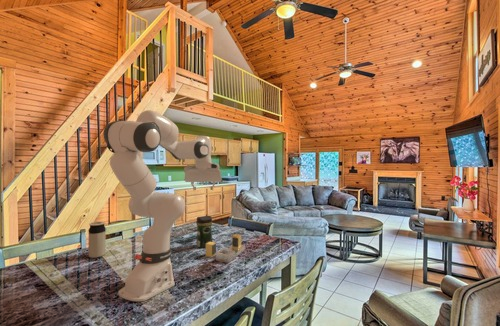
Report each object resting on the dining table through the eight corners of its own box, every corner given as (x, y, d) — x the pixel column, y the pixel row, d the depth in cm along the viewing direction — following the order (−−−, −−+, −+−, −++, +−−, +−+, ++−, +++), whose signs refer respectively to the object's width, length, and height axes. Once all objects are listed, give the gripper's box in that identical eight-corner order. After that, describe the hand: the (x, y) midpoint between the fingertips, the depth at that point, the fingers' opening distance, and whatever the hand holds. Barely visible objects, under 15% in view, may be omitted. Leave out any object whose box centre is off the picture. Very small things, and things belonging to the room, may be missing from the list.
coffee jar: (208, 242, 158) (208, 214, 158) (214, 246, 152) (214, 216, 151) (194, 245, 153) (194, 215, 152) (199, 249, 146) (199, 218, 146)
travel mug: (95, 258, 130) (95, 225, 130) (85, 256, 133) (85, 224, 133) (108, 253, 138) (108, 221, 138) (98, 251, 140) (98, 220, 140)
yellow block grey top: (212, 257, 134) (212, 244, 134) (205, 256, 135) (205, 243, 135) (216, 255, 137) (216, 242, 137) (209, 253, 139) (209, 241, 139)
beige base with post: (228, 263, 127) (228, 245, 126) (215, 260, 129) (215, 243, 129) (245, 249, 147) (245, 234, 147) (233, 247, 150) (234, 232, 150)
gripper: (183, 165, 130) (183, 191, 130) (221, 165, 133) (221, 190, 133) (184, 165, 136) (184, 189, 137) (221, 165, 139) (221, 189, 140)
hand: (203, 190), depth 135 cm, fingers open, 8 cm apart
